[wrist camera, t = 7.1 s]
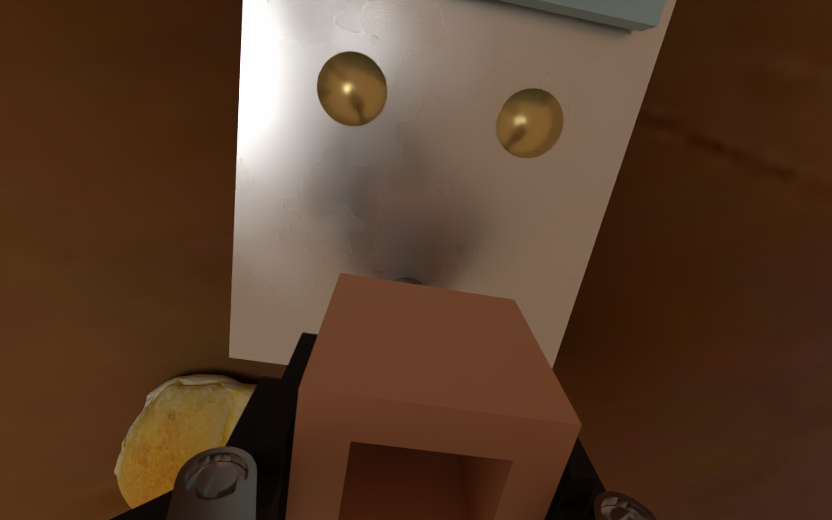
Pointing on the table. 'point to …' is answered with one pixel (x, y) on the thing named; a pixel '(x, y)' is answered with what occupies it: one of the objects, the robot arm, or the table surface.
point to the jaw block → (426, 410)
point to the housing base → (424, 155)
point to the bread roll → (177, 431)
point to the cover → (604, 11)
